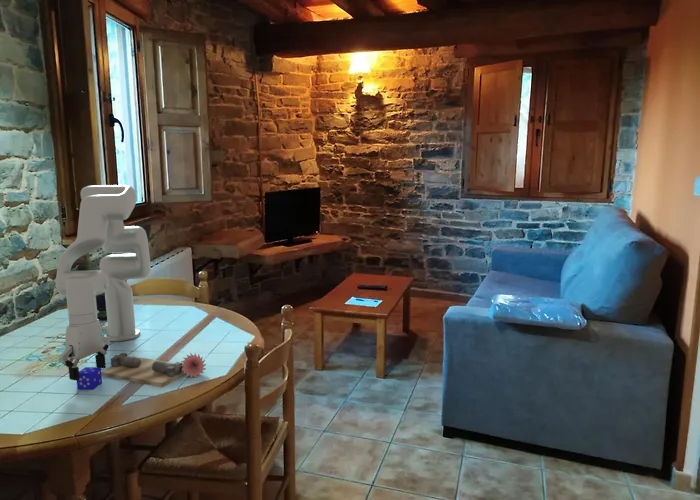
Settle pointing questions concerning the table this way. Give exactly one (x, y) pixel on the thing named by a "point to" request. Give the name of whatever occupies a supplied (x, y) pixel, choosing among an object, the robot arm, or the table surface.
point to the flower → (193, 365)
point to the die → (89, 378)
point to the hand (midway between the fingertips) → (88, 373)
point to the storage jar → (101, 307)
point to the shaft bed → (143, 370)
